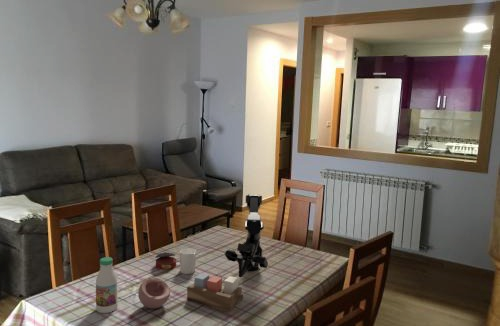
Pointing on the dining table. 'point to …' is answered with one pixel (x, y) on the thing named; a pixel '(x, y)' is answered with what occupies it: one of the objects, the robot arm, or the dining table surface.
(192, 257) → the white cup
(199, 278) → the grey rectangular block
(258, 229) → the robot arm
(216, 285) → the red key
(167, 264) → the canned food
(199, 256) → the dining table surface
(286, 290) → the dining table surface
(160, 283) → the pink round pot
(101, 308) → the milk bottle
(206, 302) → the key console
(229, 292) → the white key
